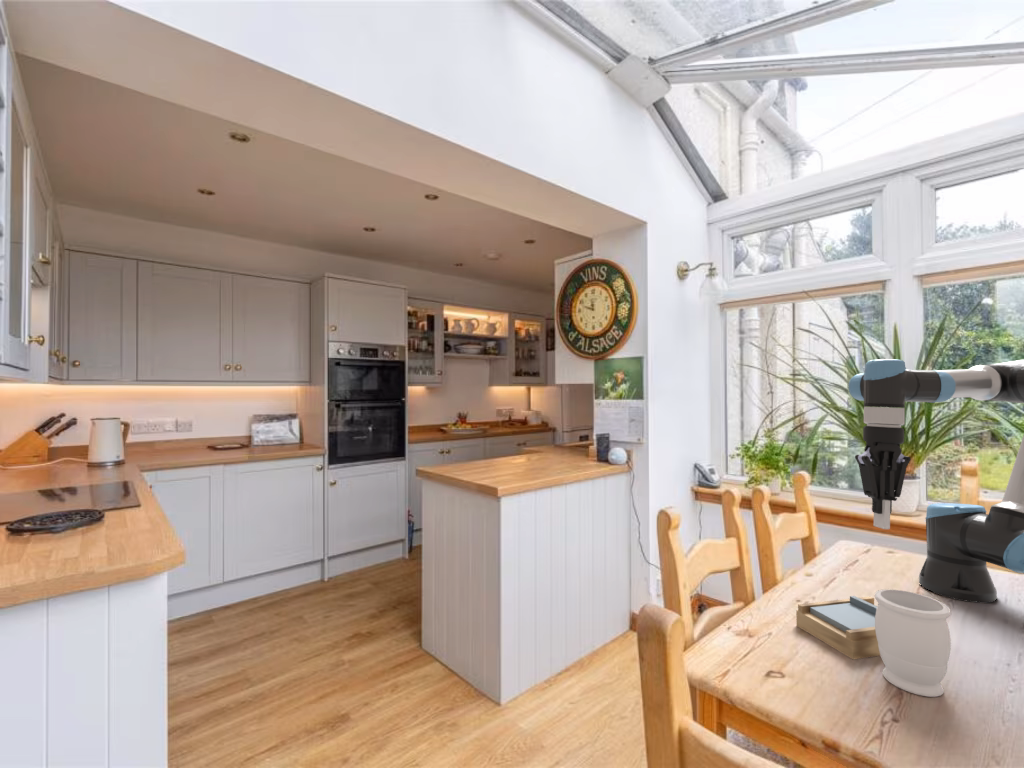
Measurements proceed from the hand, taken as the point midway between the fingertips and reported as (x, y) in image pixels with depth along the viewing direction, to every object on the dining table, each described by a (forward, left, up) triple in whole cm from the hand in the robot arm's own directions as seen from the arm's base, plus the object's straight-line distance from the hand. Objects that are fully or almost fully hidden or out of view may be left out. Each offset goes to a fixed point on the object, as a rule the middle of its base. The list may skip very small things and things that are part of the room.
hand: (881, 527), depth 110 cm
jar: (+18, +20, -22) cm, 34 cm away
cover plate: (+13, +4, -18) cm, 23 cm away
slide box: (+11, +4, -22) cm, 25 cm away
